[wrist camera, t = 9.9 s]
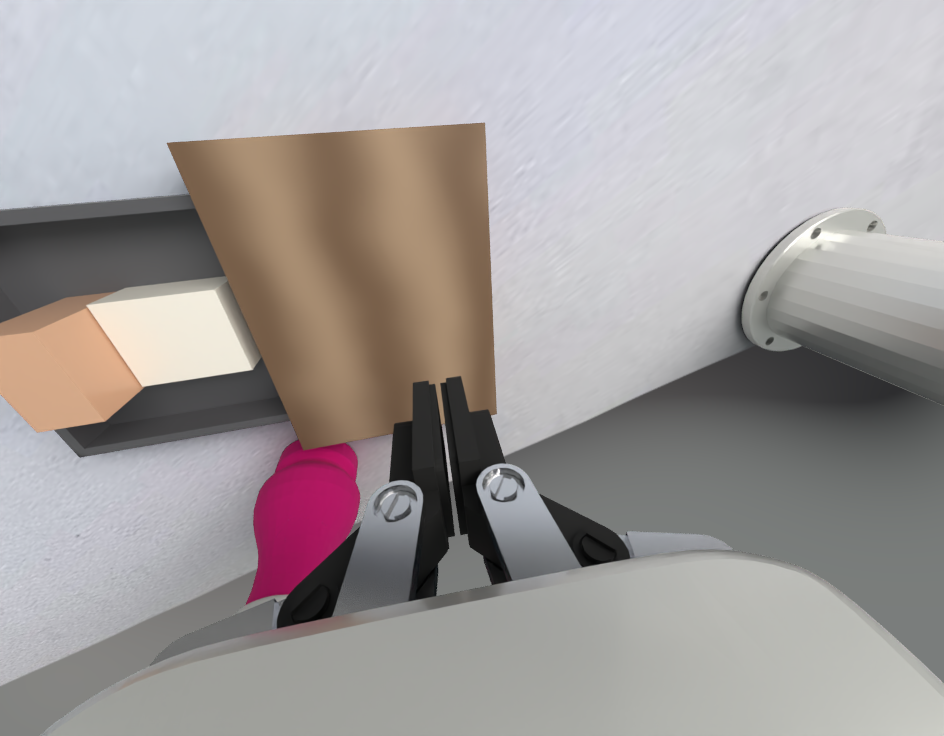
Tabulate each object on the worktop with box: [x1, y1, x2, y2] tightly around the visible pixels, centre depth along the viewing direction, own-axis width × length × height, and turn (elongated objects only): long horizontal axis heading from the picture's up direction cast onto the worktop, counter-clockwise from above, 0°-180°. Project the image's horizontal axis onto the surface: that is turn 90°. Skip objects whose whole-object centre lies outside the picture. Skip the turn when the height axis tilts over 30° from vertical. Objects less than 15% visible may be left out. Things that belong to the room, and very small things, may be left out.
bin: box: [0, 194, 290, 457], centre depth 20 cm, size 13×14×3 cm
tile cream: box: [86, 276, 262, 387], centre depth 20 cm, size 6×5×3 cm
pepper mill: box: [235, 440, 360, 614], centre depth 21 cm, size 7×7×20 cm
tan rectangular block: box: [0, 292, 145, 433], centre depth 18 cm, size 6×5×3 cm
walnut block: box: [167, 123, 497, 450], centre depth 22 cm, size 14×18×4 cm
